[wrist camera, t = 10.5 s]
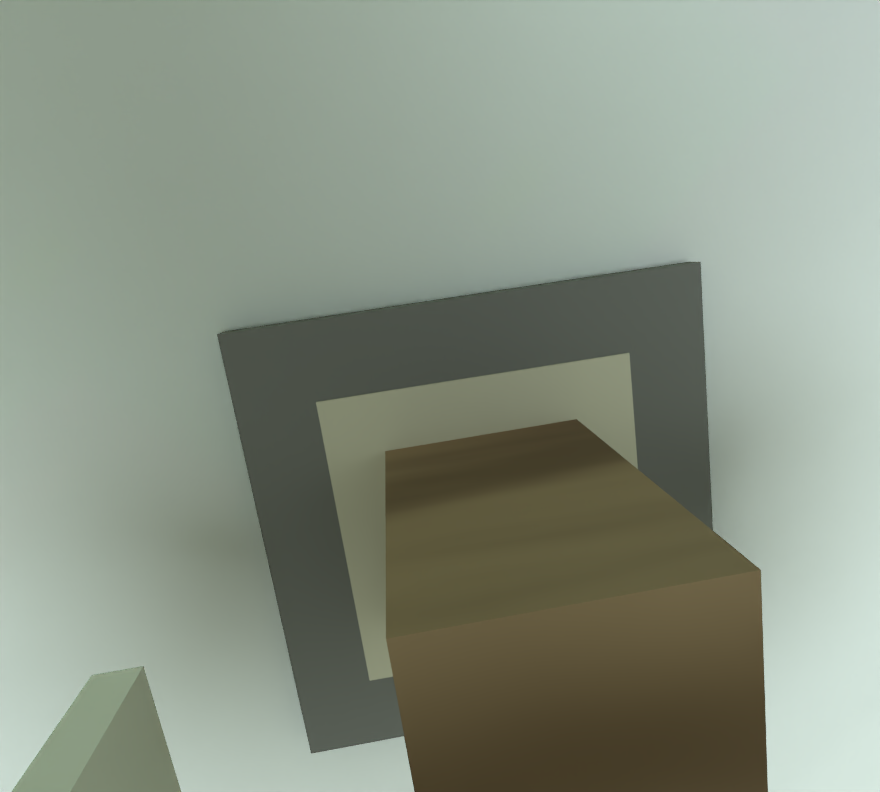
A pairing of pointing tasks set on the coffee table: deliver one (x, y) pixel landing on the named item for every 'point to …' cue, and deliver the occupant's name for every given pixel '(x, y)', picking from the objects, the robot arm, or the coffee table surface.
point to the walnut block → (566, 623)
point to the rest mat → (442, 439)
